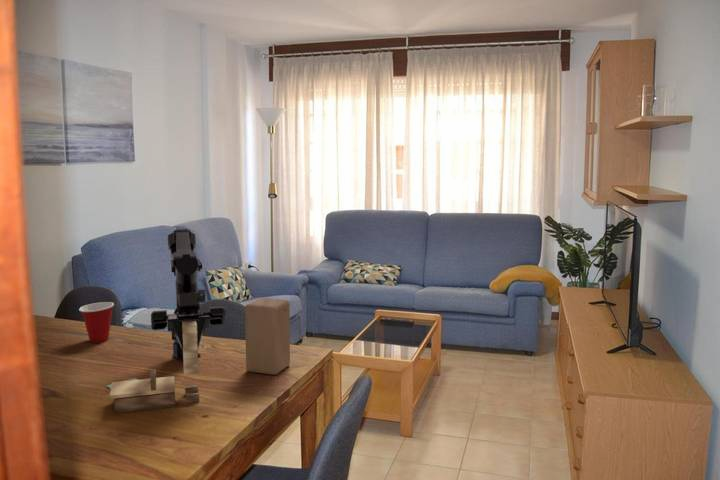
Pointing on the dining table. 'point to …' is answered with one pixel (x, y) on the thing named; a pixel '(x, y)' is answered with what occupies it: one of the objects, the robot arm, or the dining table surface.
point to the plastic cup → (97, 320)
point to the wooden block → (267, 335)
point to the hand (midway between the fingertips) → (190, 347)
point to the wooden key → (190, 347)
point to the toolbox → (153, 400)
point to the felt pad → (126, 380)
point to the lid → (142, 386)
